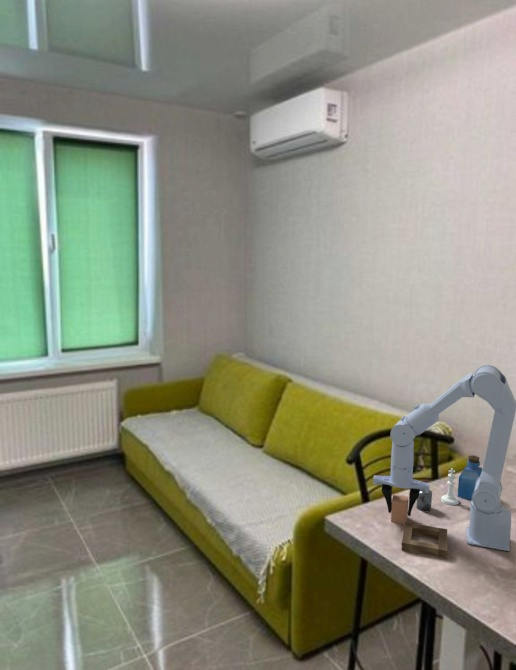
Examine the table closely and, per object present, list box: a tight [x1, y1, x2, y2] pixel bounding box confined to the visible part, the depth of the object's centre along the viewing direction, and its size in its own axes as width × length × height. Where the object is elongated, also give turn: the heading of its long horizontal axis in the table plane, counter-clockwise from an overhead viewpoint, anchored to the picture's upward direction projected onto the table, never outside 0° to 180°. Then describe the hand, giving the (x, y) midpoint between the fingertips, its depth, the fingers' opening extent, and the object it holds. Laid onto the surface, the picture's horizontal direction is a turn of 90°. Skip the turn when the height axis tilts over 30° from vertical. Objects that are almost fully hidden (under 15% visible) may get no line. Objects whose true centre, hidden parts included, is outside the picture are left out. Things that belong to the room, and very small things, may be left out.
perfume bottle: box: [457, 455, 483, 501], centre depth 154 cm, size 6×6×12 cm
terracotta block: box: [390, 493, 409, 525], centre depth 141 cm, size 4×4×6 cm
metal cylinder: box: [415, 489, 433, 512], centre depth 147 cm, size 4×4×5 cm
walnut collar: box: [400, 521, 448, 559], centre depth 129 cm, size 10×10×2 cm
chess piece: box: [440, 467, 460, 506], centre depth 151 cm, size 5×5×10 cm
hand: (399, 512), depth 141 cm, fingers open, 4 cm apart
